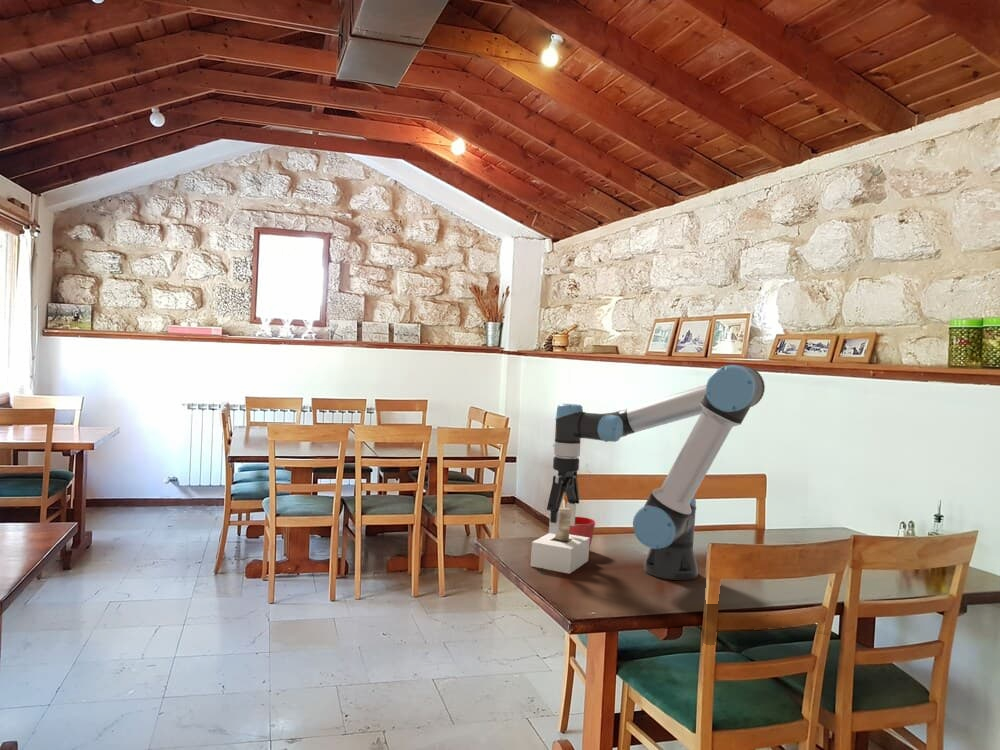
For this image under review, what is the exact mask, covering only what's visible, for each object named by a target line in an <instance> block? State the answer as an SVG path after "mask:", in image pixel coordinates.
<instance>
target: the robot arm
mask: <svg viewBox="0 0 1000 750" xmlns="http://www.w3.org/2000/svg"><path fill="white" fill-rule="evenodd" d="M765 386H766V385H765V380H764V378H763V377H762V375H761V374H760V372H759V371H758V370H756V369H754V368H752V367H751V366H746V365H739V364H728V365H724V366H721V367H720V368H718V369H716V370H714V372H712V374H711V375H710V376H709V378H708V380H707V383H706V384H704V385H700V386H698V387H697V386H696V387H695V388H691V389H688V390H684V391H681V392H678V393H674V394H671V395H667V396H664V397H661V398H657V399H654V400H651V401H648V402H644V403H641V404H638V405H635V406H631V407H628V408H624V409H621V410H617V411H614V412H607V413H594V412H593V413H591V412H584V410H583V406H582V405H581V404H577V403H560V404H558V405H557V408H556V415H555V430H554V431H555V433H554V444H553V445H552V447H553V448H554V450H553V454H554V455H555V456H554V457H553V460H552V461H553V462H552V469H553V470H554V471H557V472H558V473H557V475H553V476H552V483H551V489H550V493H549V497H548V502H547V507H546V510H547V511H549V522H548V526H549V527H548V533H551V534H557V535H558V534H559V520H560V511H559V508H560V507H561V504H562V501H563V497H564V495H566V499H567V503H566V506H565V508H569V509H571V520H570V525H571V526H575V517H576V509H577V505H579V504H580V494H579V487H578V486H579V485H578V483H579V482H578V471H579V469H580V459H579V457H580V455H581V439H587V440H588V439H589V440H593V441H594V440H595V441H602V442H605V443H607V442H611V443H613V442H615V443H616V442H618V441H620V439H621V438H623V437H626V436H629V435H632V434H634V433H638V432H641V431H645V430H649V429H654V428H655V427H659V426H660V427H661V426H664V425H667V424H671V423H674V422H678V421H681V420H685V419H688V418H691V417H695V416H698V415H699V417H698V419H697V420H696V422H695V424H694V426H693V428H692V429H691V432H690V433H689V435H688V437H687V439H686V441H685V442H684V444H683V446H682V448H681V450H680V451H679V453H678V456H677V457H676V459H675V461H674V463H673V465H672V466H671V468H670V470H669V472H668V474H667V476H666V478H665V479H664V481H663V483H662V485H661V486H660V487H658V488H655V489H652V491H651V493H650V495H649V496H648V499H647V500H646V502H645V504H644V505H643V506H642V507H641V508H640V509H638V510H637V511H636V513H635V515H634V516H633V518H632V530H633V533H634V535H635V537H636V538H637V540H638V542H640V543H641V544H642V545H643V546H645V547H646V548H649V550H648V553H647V555H646V557H645V559H644V563H643V564H644V565H643V571H644V572H645V573H646V574H649V575H651V576H653V577H656V578H660V579H664V580H665V579H666V580H673V581H689V580H690V581H691V580H694V579H696V578H698V575H699V574H698V572H699V569H698V563H697V560H696V555H695V551H694V538H695V527H696V526H695V525H696V513H697V512H696V511H697V501H696V498H695V495H696V493H697V491H698V489H699V488H700V486H701V484H702V483H703V480H704V479H705V477H706V475H707V473H708V471H709V470H710V468H711V466H712V464H713V462H714V461H715V460H716V457H717V455H718V454H719V452H720V450H721V448H722V446H723V444H724V443H725V441H726V439H727V437H728V436H729V434H730V432H731V430H732V429H733V428H734V427H736V426H739V425H740V426H741V425H742V423H743V422H744V419H745V418H746V416H747V414H748V413H749V411H750V409H751V408H752V407H754V406H756V405H757V404H758V403H760V401H761V400H762V398H763V397H764V394H765V388H766V387H765Z"/></svg>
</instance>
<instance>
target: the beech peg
mask: <svg viewBox="0 0 1000 750" xmlns="http://www.w3.org/2000/svg"><path fill="white" fill-rule="evenodd" d="M559 511H560V520H559V534H558V535H557V534H555V541H557V542H563V543H568V542H569V531H570V520H571V509H569V508H566V507H561V506H560V508H559Z"/></svg>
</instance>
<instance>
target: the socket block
mask: <svg viewBox="0 0 1000 750" xmlns="http://www.w3.org/2000/svg"><path fill="white" fill-rule="evenodd" d="M589 541H590V538H589V537H583V536H577V535H571V534H569V542H568V543H563V542H557V541H555V534H551V533H549V532H548V533H545V535H543V536H541V537H539V538H537V539H535V540H533V541H531V550H530V551H531V552H530V566H529V567H534V568H538V569H542V568H543V570H548V571H554V572H559V573H564V574H571V573H573V572H575V571H576V570H577V569H579V568H580V567H581V566H583V565H584V564H586V563H587V562H589V555H590V554H589V553H590V549H589Z"/></svg>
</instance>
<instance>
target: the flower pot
mask: <svg viewBox="0 0 1000 750" xmlns="http://www.w3.org/2000/svg"><path fill="white" fill-rule="evenodd" d="M595 524H596V521H595V520H594V519H592V518H589V517H584V516H583V517H582V516H575V526H571V525H570V531H569V534H571V535H577V536H583V537H589V538H590V541H589V550H591V545H592V540H593V537H594V536H593V535H594V532H595V531H594V530H595V526H596V525H595Z"/></svg>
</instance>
